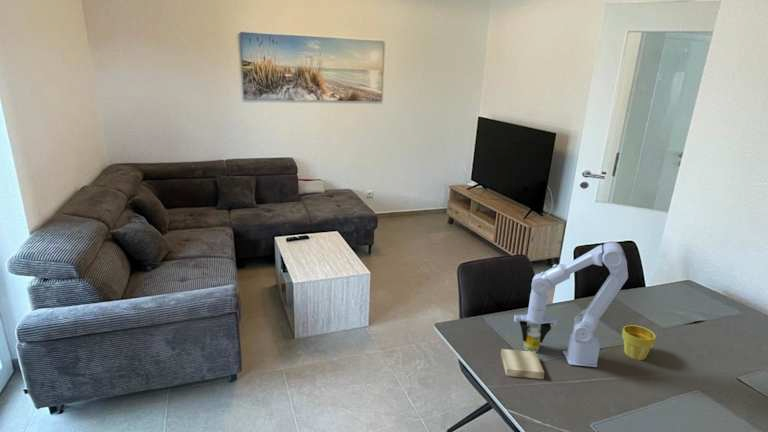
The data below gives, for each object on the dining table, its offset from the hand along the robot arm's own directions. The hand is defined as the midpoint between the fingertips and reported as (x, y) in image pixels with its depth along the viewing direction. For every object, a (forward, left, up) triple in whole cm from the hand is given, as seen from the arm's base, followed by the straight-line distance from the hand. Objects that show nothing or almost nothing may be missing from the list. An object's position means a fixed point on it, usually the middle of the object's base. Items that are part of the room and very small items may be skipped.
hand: (532, 340), depth 163 cm
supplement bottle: (0, 0, -4) cm, 4 cm away
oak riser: (+6, +12, -4) cm, 14 cm away
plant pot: (-37, -1, -4) cm, 37 cm away
